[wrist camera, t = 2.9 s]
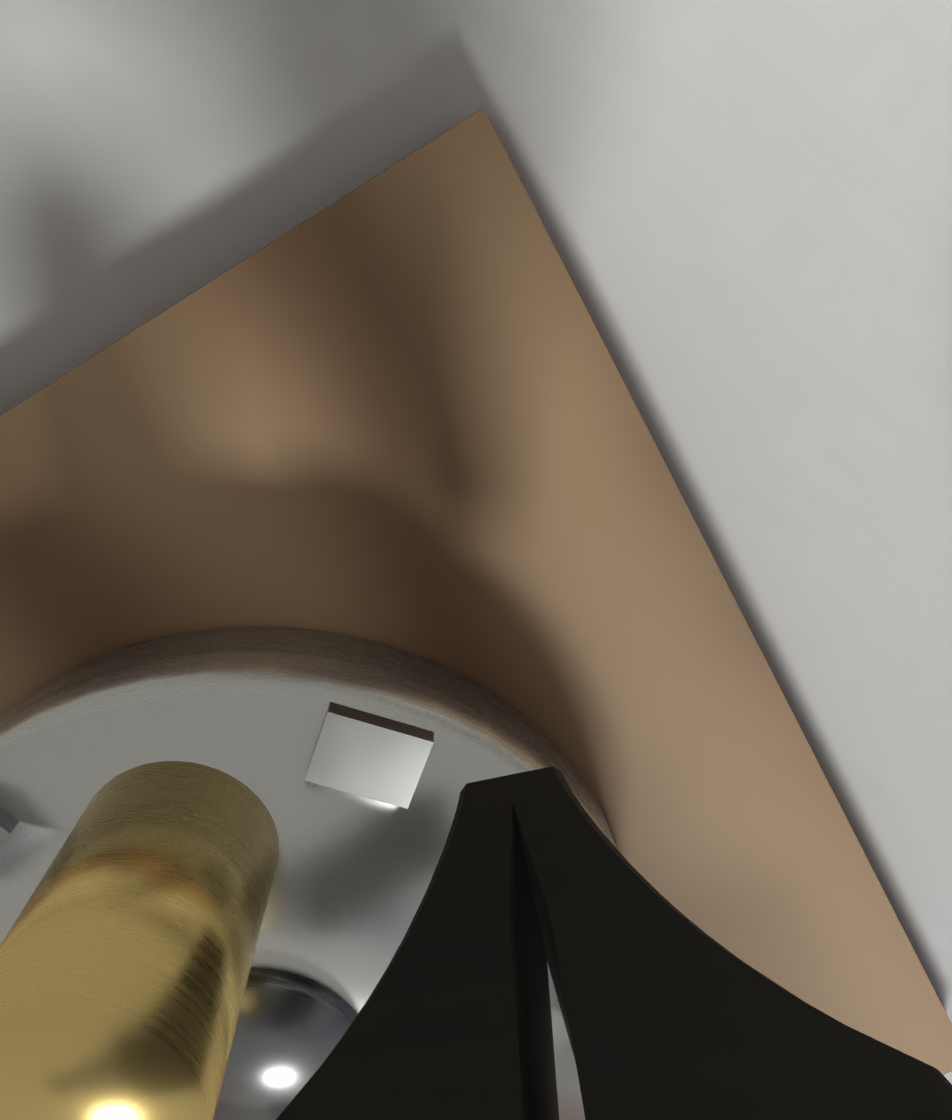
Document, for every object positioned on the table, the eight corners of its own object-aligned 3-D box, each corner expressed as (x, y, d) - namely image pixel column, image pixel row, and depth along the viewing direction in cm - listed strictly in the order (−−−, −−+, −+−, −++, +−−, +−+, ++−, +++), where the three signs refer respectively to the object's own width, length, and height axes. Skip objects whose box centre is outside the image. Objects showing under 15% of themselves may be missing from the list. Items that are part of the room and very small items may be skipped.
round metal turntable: (579, 559, 15) (701, 803, 8) (661, 1135, 19) (782, 1587, 13) (-220, 706, 15) (-741, 1063, 8) (53, 1243, 19) (-139, 1746, 13)
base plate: (479, 118, 13) (485, 104, 12) (946, 1024, 20) (979, 1073, 19) (-538, 765, 16) (-618, 806, 15) (176, 1372, 23) (162, 1435, 22)
